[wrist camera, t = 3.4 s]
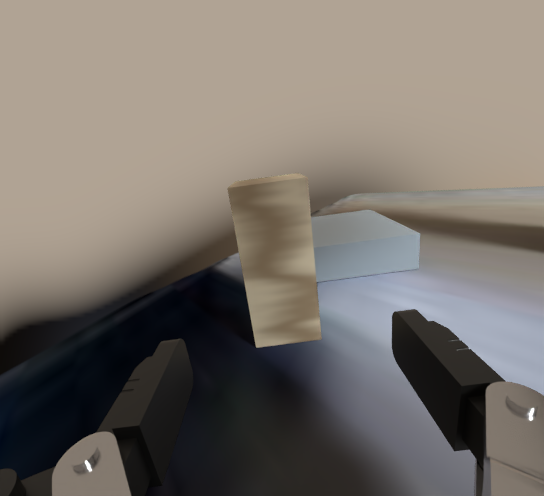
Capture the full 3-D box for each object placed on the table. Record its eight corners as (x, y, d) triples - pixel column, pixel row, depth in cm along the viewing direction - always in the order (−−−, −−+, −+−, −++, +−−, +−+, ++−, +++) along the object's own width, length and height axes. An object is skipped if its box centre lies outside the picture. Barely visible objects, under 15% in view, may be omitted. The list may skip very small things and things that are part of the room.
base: (370, 234, 43) (369, 209, 42) (418, 268, 30) (420, 233, 28) (281, 246, 43) (278, 221, 42) (290, 285, 30) (285, 251, 28)
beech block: (310, 305, 25) (297, 173, 22) (321, 339, 21) (307, 177, 17) (257, 312, 25) (235, 181, 22) (256, 347, 21) (227, 188, 17)
